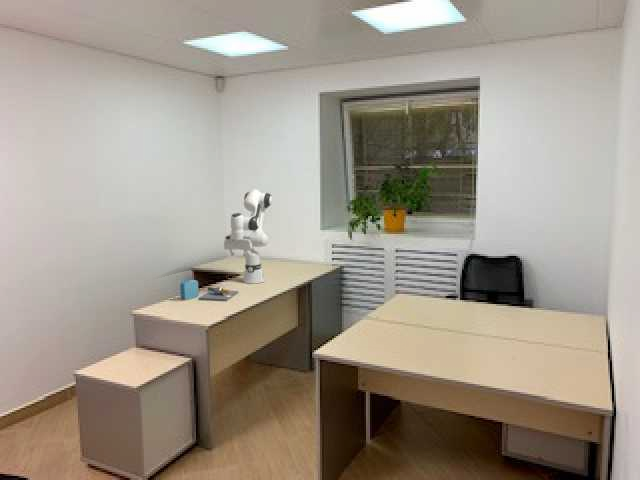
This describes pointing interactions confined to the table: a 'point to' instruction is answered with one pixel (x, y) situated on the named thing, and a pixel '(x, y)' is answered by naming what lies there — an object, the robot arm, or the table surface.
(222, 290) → the bar with grey ball
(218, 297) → the stand
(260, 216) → the robot arm
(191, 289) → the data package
